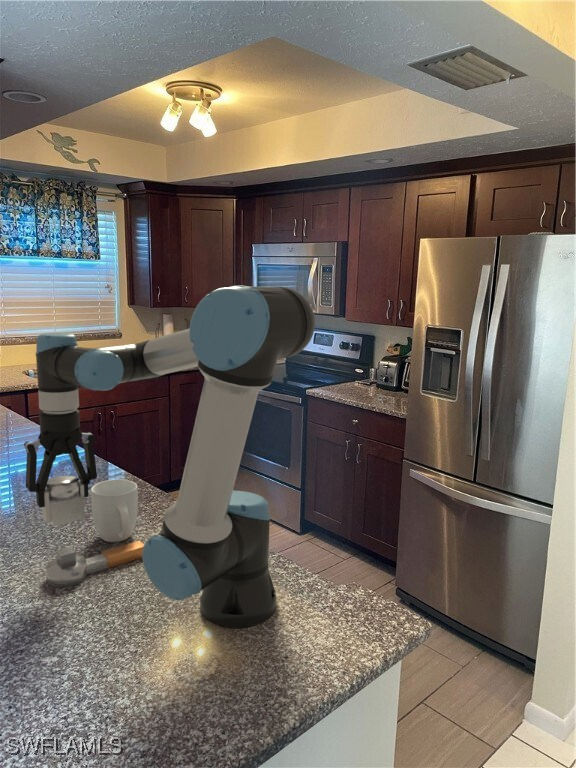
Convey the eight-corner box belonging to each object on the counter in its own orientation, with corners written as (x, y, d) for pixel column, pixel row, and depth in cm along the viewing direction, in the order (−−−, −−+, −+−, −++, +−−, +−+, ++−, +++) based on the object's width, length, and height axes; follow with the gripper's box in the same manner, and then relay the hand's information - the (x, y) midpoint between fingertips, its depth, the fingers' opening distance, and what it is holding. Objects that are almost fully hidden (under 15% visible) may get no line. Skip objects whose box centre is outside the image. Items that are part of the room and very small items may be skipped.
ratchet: (150, 560, 128) (150, 535, 127) (54, 591, 114) (52, 564, 113) (135, 547, 134) (134, 523, 133) (41, 575, 120) (40, 549, 119)
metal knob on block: (84, 518, 117) (83, 482, 116) (53, 526, 113) (51, 489, 112) (73, 508, 122) (72, 473, 121) (43, 515, 118) (41, 479, 116)
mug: (150, 546, 135) (149, 495, 132) (104, 557, 129) (102, 504, 126) (130, 523, 147) (129, 476, 144) (87, 532, 141) (85, 483, 138)
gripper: (98, 400, 122) (101, 499, 127) (2, 411, 110) (9, 521, 114) (113, 407, 117) (115, 511, 121) (13, 420, 104) (19, 534, 109)
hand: (63, 515), depth 118 cm, fingers closed on metal knob on block, 6 cm apart
